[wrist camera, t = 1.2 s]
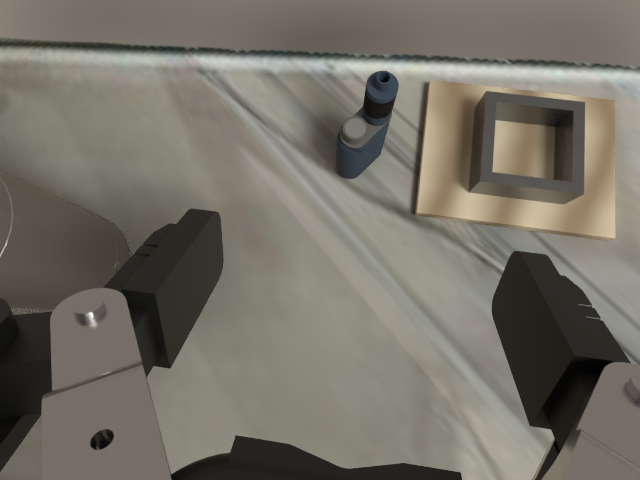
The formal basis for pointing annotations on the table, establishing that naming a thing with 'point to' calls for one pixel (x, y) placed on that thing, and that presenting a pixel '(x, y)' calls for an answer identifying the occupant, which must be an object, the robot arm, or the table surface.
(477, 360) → the table surface
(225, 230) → the table surface
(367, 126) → the vaping device
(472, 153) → the square socket
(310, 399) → the table surface
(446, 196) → the mounting board
